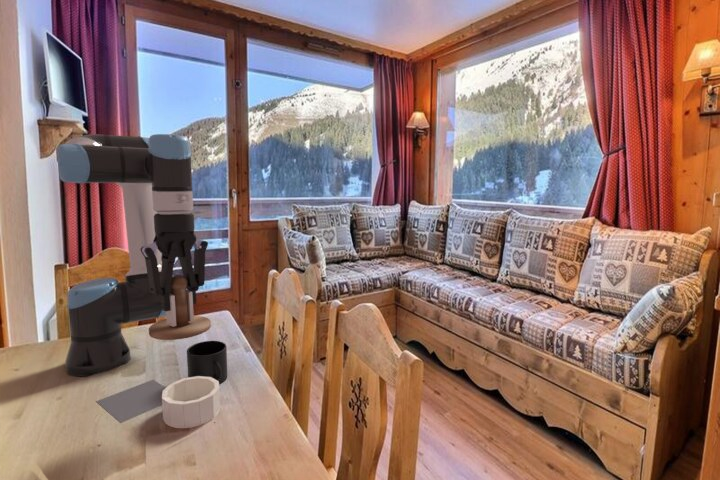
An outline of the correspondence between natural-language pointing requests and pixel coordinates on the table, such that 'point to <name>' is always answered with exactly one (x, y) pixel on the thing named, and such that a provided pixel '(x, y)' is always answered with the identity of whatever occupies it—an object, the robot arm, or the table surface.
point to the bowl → (191, 401)
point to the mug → (208, 360)
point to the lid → (180, 316)
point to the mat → (133, 401)
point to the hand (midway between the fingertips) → (180, 322)
